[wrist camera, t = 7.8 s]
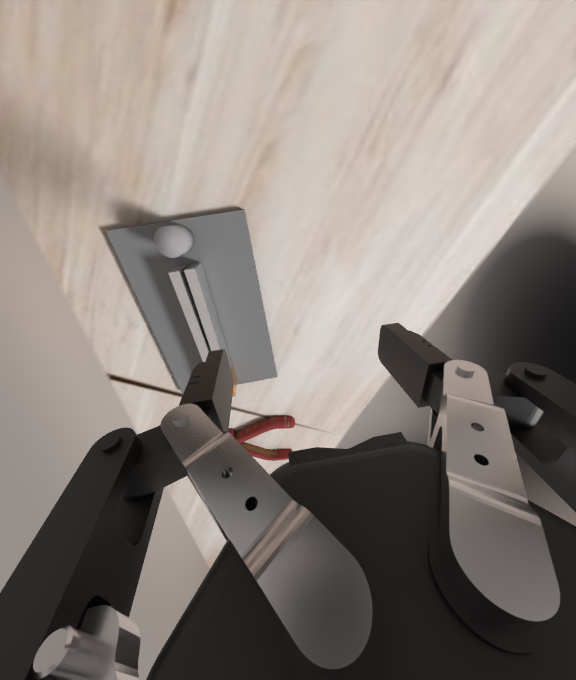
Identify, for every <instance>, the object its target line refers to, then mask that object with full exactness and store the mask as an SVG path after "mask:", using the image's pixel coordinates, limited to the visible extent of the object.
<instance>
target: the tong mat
mask: <svg viewBox="0 0 576 680" xmlns="http://www.w3.org/2000/svg"><path fill="white" fill-rule="evenodd" d="M106 233H107V235H108V238H109V240H110V242H111V244H112V246H113V248H114V250H115V252H116V254H117V257H118V259H119V261H120V263H121V265H122V267H123V269H124V271H125V274H126V276H127V278H128V280H129V282H130V284H131V286H132V288H133V291H134V293H135V295H136V297H137V299H138V301H139V303H140V305H141V307H142V310H143V312H144V314H145V316H146V318H147V320H148V322H149V324H150V327H151V329H152V331H153V333H154V335H155V337H156V339H157V341H158V343H159V346H160V348H161V350H162V352H163V354H164V356H165V358H166V360H167V363H168V365H169V367H170V369H171V371H172V373H173V375H174V377H175V380H176V382H177V384H178V386H179V388H180V390H181V392H182V394H184V391H185V388H186V386H187V385H188V384H187V383H188V381H189V379H190V375H191V373H192V370H193V369H194V368H195V367H196V366H197V365H198V364H199V363H201V362H203V361H202V358H201V356H200V353H199V350H198V348H197V345H196V343H195V340H194V338H193V335H192V332H191V330H190V327H189V325H188V322H187V320H186V317H185V315H184V312H183V309H182V307H181V304H180V302H179V299H178V297H177V294H176V292H175V289H174V286H173V284H172V281H171V279H170V276H169V274H168V273H169V272H170V271H172V270H173V269H175V268H176V267H178V266H184V265H187V266H188V267H189V266H190V265H191V264H196V263H202V267H203V270H204V274H205V277H206V280H207V284H208V287H209V290H210V294H211V297H212V301H213V304H214V307H215V311H216V314H217V317H218V321H219V324H220V327H221V331H222V334H223V338H224V341H225V344H226V348H227V351H228V354H229V358H230V361H231V364H232V366H233V368H234V372H235V375H236V379H237V384H242V383H248V382H253V381H258V380H264V379H269V378H275V377H277V372H276V367H275V362H274V357H273V352H272V347H271V342H270V337H269V332H268V327H267V322H266V317H265V312H264V307H263V302H262V297H261V292H260V287H259V281H258V276H257V271H256V266H255V261H254V256H253V251H252V246H251V241H250V236H249V231H248V226H247V221H246V216H245V211H244V210H237V211H231V212H224V213H218V214H211V215H205V216H198V217H192V218H185V219H179V220H172V221H166V222H159V223H153V224H146V225H140V226H133V227H127V228H120V229H114V230H107V231H106Z"/></svg>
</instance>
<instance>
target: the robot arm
mask: <svg viewBox="0 0 576 680" xmlns="http://www.w3.org/2000/svg"><path fill="white" fill-rule="evenodd" d="M378 356H379V359H380V361H381V363H382V364H383V365H384V366H385V368H386V369H387V370H388V371H389V373H390V374H391V375H392V376H393V377H394V379H395V380H396V381H397V382H398V384H399V385H400V386H401V387H402V388H403V390H404V391H405V392H406V393H407V394H408V395H409V397H410V398H411V399H412V400H413V402H414V403H415V404H416V405H417V407H418V408H419V407H425V406H430V407H431V408H432V410H431V413H430V423H429V435H428V446H427V445H424V444H419V443H415V442H409V441H406V439H405V438H404V436H403V435H402V433H401V432H399V433H393V434H388V435H382V436H377V437H373V438H371V439H369V440H367V441H364V442H362V443H360V444H358V445H356V446H354V447H352V448H349V449H335V448H318V447H316V448H310V449H304V450H299V451H293V452H288V457H289V462H288V463H286V464H284V465H282V466H280V467H279V468H277V469H276V470H275V471H274V472H272V473H271V474H270V475H269V474H268V473H267V472H266V471H265V470H264V469H263V467H262V466H261V465H260V464H259V463H258V462H257V461H256V460H255V459H254V458H253V457H252V456H251V455H250V454H249V453H248V452H247V451H246V450H245V449H244V448H243V446H242V445H241V444H240V443H239V442H238V441H237V440H236V439H235V438H234V437H233V436H232V435H231V434H230V433H229V432H228V427H229V419H230V411H231V403H232V394H233V386H234V382H233V375H232V371H231V367H230V364H229V360H228V357H227V353H226V351H225V349H221V350H214V351H209V352H208V355H207V358H206V361H205V362H201V363H199V364H198V365H197V366H196V367H195V368H194V369H193V370H192V373H191V375H190V379H189V381H188V383H187V384H188V385H187V386H186V388H185V391H184V394H183V396H182V399H181V401H180V404H179V406H178V407H176V408H174V409H172V410H171V411H169V412H168V413H167V414H166V415H165V416H164V418H163V419H162V421H161V425H160V426H158V427H155V428H153V429H150V430H148V431H145V432H143V433H141V434H138V435H136V433H135V432H134V430H133V429H131V428H120V429H117V430H114V431H112V432H110V433H108V434H106V435H105V436H103V437H102V438H100V439H99V440H98V441H97V442H96V443H95V444H94V445H93V446H92V447H91V449H90V450H89V452H88V453H87V455H86V456H85V458H84V460H83V461H82V463H81V464H80V466H79V468H78V469H77V471H76V473H75V474H74V476H73V477H72V479H71V481H70V482H69V484H68V485H67V487H66V488H65V490H64V492H63V493H62V495H61V496H60V498H59V500H58V501H57V503H56V504H55V507H54V508H53V509H52V511H51V513H50V514H49V516H48V517H47V519H46V521H45V522H44V524H43V525H42V527H41V529H40V530H39V532H38V533H37V535H36V537H35V538H34V540H33V541H32V543H31V545H30V546H29V548H28V549H27V551H26V553H25V554H24V556H23V557H22V559H21V561H20V562H19V564H18V565H17V567H16V569H15V570H14V572H13V573H12V575H11V577H10V578H9V580H8V581H7V583H6V585H5V586H4V588H3V589H2V591H1V593H0V680H139V674H138V658H139V651H140V631H139V628H138V626H137V624H136V623H135V622H134V621H133V620H132V619H131V618H129V614H130V611H131V607H132V603H133V600H134V596H135V592H136V588H137V585H138V581H139V577H140V574H141V570H142V566H143V563H144V559H145V555H146V552H147V548H148V544H149V540H150V537H151V533H152V529H153V526H154V522H155V518H156V514H157V511H158V507H159V503H160V500H161V496H162V492H163V489H164V487H165V486H167V485H169V484H171V483H173V482H175V481H177V480H179V479H182V478H184V477H186V476H188V478H189V479H190V481H191V483H192V484H193V486H194V488H195V489H196V491H197V493H198V494H199V496H200V498H201V499H202V501H203V502H204V504H205V506H206V507H207V509H208V511H209V512H210V514H211V516H212V518H213V519H214V521H215V523H216V524H217V526H218V528H219V530H220V531H221V533H222V535H223V536H224V538H225V539H226V541H227V542H226V544H225V545H224V547H223V549H222V550H221V552H220V554H219V555H218V557H217V559H216V560H215V562H214V564H213V565H212V567H211V569H210V570H209V572H208V574H207V575H206V577H205V579H204V580H203V582H202V584H201V585H200V587H199V589H198V590H197V592H196V594H195V595H194V597H193V599H192V600H191V602H190V604H189V605H188V607H187V609H186V610H185V612H184V614H183V615H182V617H181V619H180V620H179V622H178V623H177V625H176V627H175V629H174V630H173V632H172V634H171V635H170V637H169V639H168V640H167V642H166V643H165V645H164V647H163V648H162V650H161V652H160V654H159V655H158V657H157V659H156V661H155V663H154V665H153V666H152V668H151V670H150V673H149V675H148V677H147V679H146V680H576V526H574V525H572V524H570V523H569V522H567V521H565V520H563V519H561V518H560V517H558V516H556V515H554V514H552V513H551V512H549V511H547V510H545V509H543V508H542V507H540V506H538V505H536V504H535V503H533V502H531V501H529V500H527V498H526V494H525V490H524V486H523V482H522V478H521V473H520V469H519V465H518V461H517V457H516V453H517V454H518V455H519V456H520V457H521V458H522V459H523V460H524V461H525V462H526V463H527V464H528V465H529V466H530V467H531V468H532V469H533V470H534V471H535V472H536V473H537V474H538V475H539V476H540V477H541V478H542V479H543V480H544V481H545V482H546V483H547V484H548V485H549V486H550V487H551V488H552V489H553V490H554V491H555V492H556V493H557V494H558V495H559V496H560V497H561V498H562V499H563V500H564V501H565V502H566V503H567V504H568V505H569V506H570V507H571V508H572V509H573V510H574V511H575V512H576V385H575V384H574V383H572V382H571V381H569V380H567V379H565V378H564V377H562V376H560V375H559V374H557V373H555V372H553V371H552V370H550V369H547V368H545V367H542V366H539V365H535V364H531V363H514V364H512V365H510V367H509V369H508V371H507V373H506V374H504V373H487V372H486V371H485V370H484V369H483V368H482V367H480V366H479V365H476V364H474V363H471V362H468V361H463V360H452V359H451V358H449V357H448V356H446V355H445V354H444V353H443V352H441V351H440V350H439V349H438V348H436V347H435V346H433V345H432V344H431V343H429V342H428V341H427V340H426V339H424V338H423V337H422V336H421V335H419V334H416V333H414V332H412V331H408V330H407V329H405V328H404V327H403V326H402V325H400V324H399V323H393V324H387V325H382V326H381V329H380V338H379V347H378ZM543 412H545V413H546V414H547V415H549V416H550V417H552V418H553V419H554V420H555V421H557V422H558V423H559V424H561V425H562V426H563V427H565V428H566V429H567V431H568V432H569V433H570V435H571V439H572V442H571V444H570V446H569V447H567V446H566V445H565V444H564V443H563V442H561V441H560V440H559V439H558V438H556V437H555V436H554V435H553V434H551V433H550V432H549V431H548V430H547V429H545V428H544V427H543V426H542V425H540V424H539V423H538V420H539V418H540V417H541V415H542V413H543ZM515 452H516V453H515Z"/></svg>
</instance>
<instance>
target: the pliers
mask: <svg viewBox="0 0 576 680" xmlns="http://www.w3.org/2000/svg"><path fill="white" fill-rule="evenodd" d="M294 426H295V420H294V418H293V417H291V416H275V417H270V418H267V419H264V420H261V421H259V422H257V423H255V424H253V425H250V426H248V427H246V428H244V429H242V430H239V431H237V432H235V431H234V430H233V429H230V430H229V433H230V434H231V435H232V436H233V437H234V438H235V439H236V440H237V441H238V442H239V443H240V444H241V445H242V446H243V448H244V449H245V450H246V451H247V452H248V453H249V454H250V455H251V456H254V457H257V458H261V459H265V460H273V461H275V460H284V459H289V457H288V452H292V450H291V449H281V450H269V449H265V448H261V447H258V446H255V445H251V444H248V443H245V442H244V441H246V440H248V439H250V438H253V437H255V436H257V435H259V434H262V433H264V432H266V431H269V430H272V429H277V428H279V429H280V428H293V427H294Z"/></svg>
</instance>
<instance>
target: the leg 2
mask: <svg viewBox="0 0 576 680" xmlns="http://www.w3.org/2000/svg"><path fill="white" fill-rule="evenodd" d="M184 272H185V275H186V278H187V281H188V284H189V287H190V290H191V293H192V295H193V298H194V301H195V304H196V307H197V310H198V313H199V316H200V319H201V322H202V325H203V328H204V331H205V334H206V337H207V340H208V343H209V346H210V349H211V351H214V350H221V349H225V351H226V353H227V357H228V360H229V364H230V367H231V371H232V375H233V382H234V386H233V394H232V397H233V396H235V394H236V385H237V379H236V375H235V372H234V368H233V366H232V364H231V361H230V358H229V354H228V351H227V348H226V344H225V341H224V338H223V334H222V331H221V327H220V324H219V321H218V317H217V314H216V311H215V307H214V304H213V301H212V297H211V294H210V290H209V287H208V284H207V280H206V277H205V274H204V270H203V267H202V263H196V264H191V265H190V266H189V267H187V268H186V269H185V270H184Z"/></svg>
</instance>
